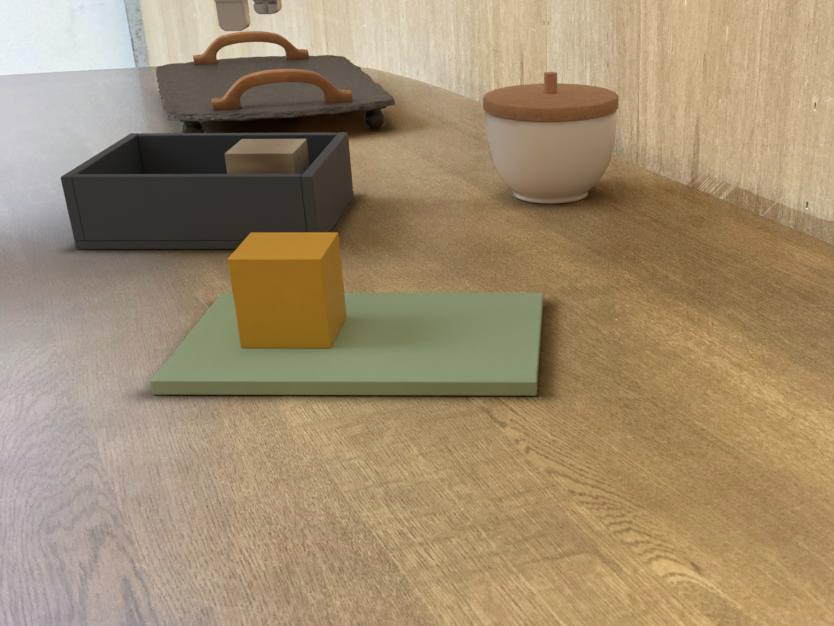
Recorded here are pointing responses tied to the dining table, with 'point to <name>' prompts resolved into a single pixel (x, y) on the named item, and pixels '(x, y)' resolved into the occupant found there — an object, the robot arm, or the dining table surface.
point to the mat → (373, 350)
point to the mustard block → (288, 289)
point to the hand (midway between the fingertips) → (253, 21)
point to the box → (201, 192)
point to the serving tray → (266, 86)
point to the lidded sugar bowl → (550, 138)
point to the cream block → (268, 156)
